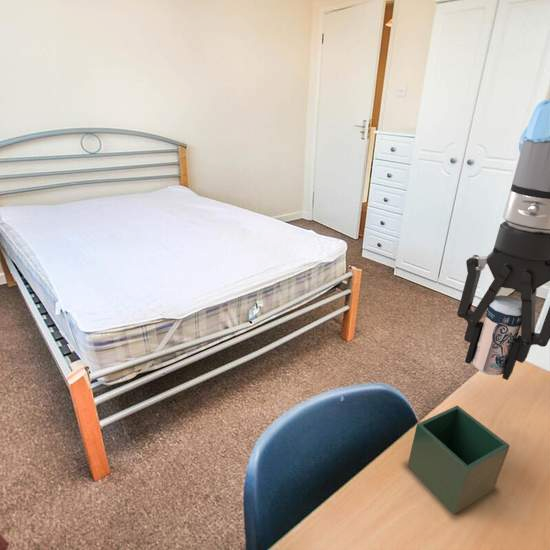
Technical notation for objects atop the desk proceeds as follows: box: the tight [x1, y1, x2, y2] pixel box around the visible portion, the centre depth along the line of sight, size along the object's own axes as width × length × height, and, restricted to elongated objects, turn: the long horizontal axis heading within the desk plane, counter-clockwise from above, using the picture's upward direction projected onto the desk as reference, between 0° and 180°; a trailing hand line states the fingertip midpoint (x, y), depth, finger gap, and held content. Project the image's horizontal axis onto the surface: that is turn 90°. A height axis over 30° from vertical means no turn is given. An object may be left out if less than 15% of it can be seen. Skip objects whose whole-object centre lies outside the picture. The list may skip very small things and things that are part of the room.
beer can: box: [471, 294, 522, 376], centre depth 58 cm, size 5×5×12 cm
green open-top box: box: [407, 405, 511, 515], centre depth 64 cm, size 10×10×11 cm
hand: (488, 366), depth 60 cm, fingers closed on beer can, 5 cm apart
